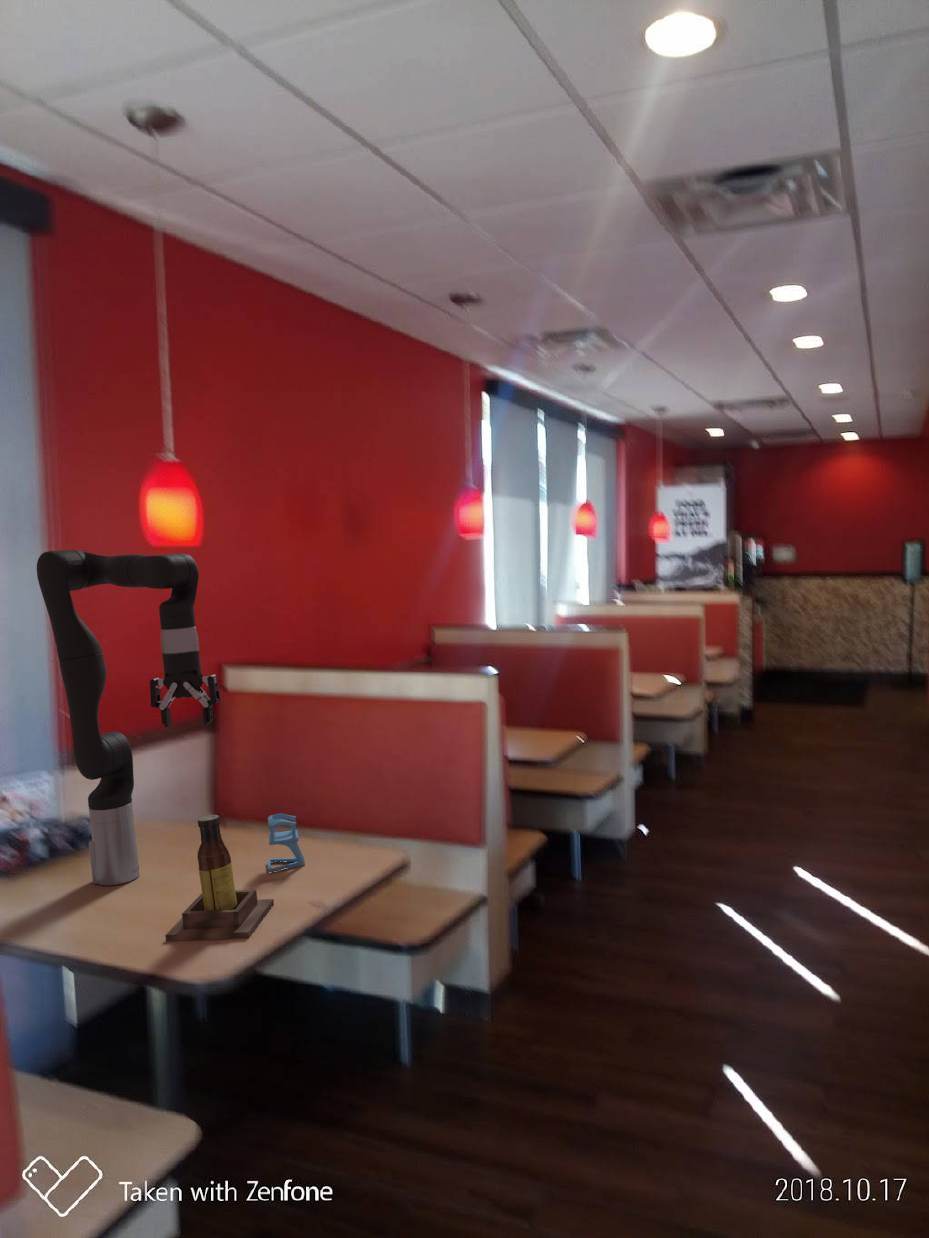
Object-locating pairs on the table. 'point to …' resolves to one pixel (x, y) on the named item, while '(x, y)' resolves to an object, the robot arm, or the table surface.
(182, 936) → the bottle caddy
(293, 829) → the chair
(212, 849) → the sauce bottle
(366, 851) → the table surface
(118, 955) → the table surface
